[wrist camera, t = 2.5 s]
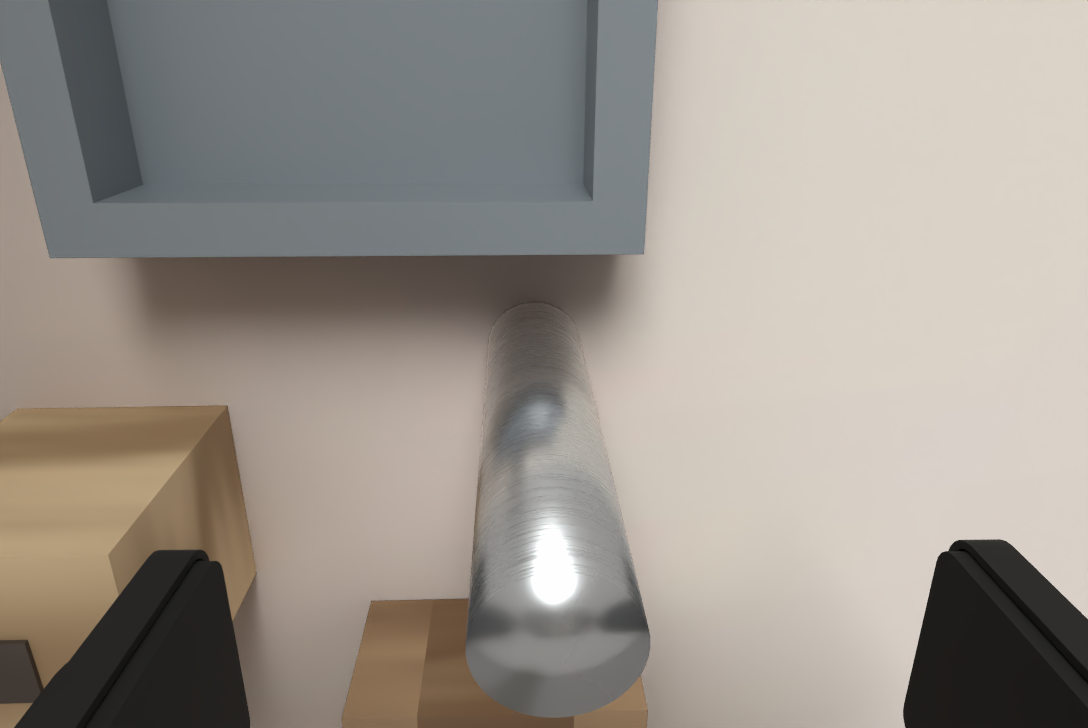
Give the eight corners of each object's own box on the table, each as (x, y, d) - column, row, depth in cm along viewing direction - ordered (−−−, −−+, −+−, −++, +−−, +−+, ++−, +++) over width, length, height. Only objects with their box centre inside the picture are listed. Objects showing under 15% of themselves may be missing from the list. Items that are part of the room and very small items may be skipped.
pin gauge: (487, 302, 18) (461, 575, 9) (580, 301, 18) (655, 571, 9) (489, 388, 19) (468, 720, 9) (578, 386, 19) (645, 714, 10)
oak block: (18, 407, 18) (-198, 565, 13) (228, 404, 19) (105, 558, 13) (67, 576, 20) (-103, 777, 15) (257, 571, 21) (160, 769, 15)
